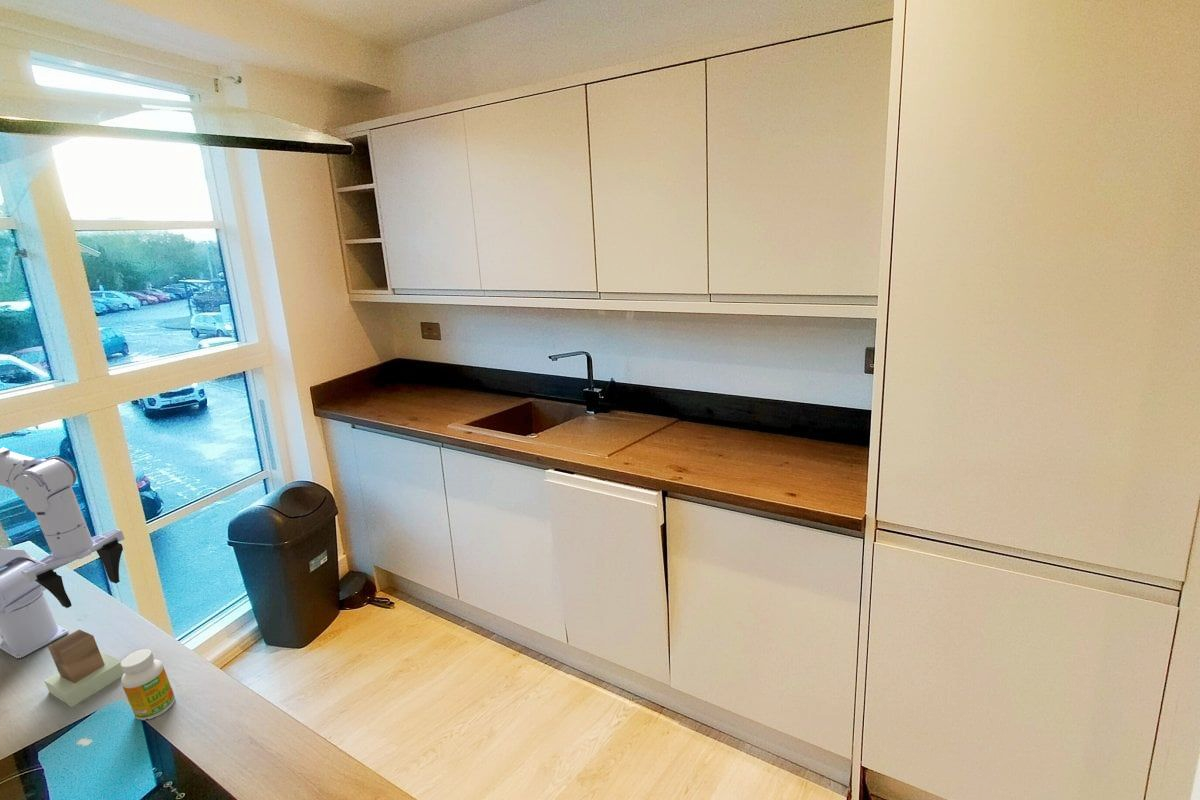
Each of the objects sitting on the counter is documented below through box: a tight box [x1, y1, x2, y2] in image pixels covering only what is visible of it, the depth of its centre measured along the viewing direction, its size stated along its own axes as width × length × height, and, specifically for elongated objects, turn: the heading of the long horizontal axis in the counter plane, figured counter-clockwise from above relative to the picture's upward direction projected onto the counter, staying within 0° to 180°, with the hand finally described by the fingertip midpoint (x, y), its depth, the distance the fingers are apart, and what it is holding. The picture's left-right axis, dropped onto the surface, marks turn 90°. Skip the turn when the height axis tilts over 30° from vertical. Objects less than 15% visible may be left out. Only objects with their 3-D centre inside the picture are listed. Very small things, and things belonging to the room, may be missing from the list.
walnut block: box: [47, 629, 105, 683], centre depth 104 cm, size 4×4×6 cm
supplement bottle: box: [120, 648, 176, 721], centre depth 97 cm, size 5×5×10 cm
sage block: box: [43, 649, 124, 708], centre depth 105 cm, size 8×8×3 cm
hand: (91, 593), depth 113 cm, fingers open, 7 cm apart
